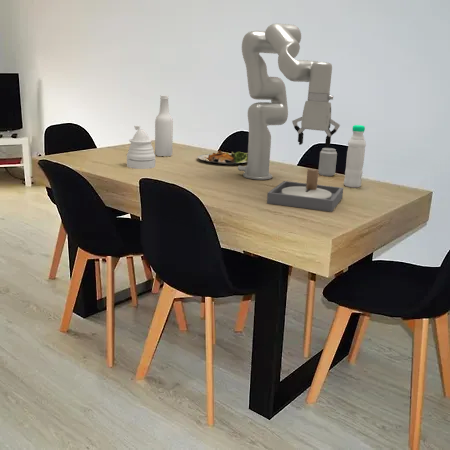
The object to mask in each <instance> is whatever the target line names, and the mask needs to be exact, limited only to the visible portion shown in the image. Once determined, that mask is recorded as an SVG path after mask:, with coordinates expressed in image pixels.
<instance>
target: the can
mask: <svg viewBox="0 0 450 450" xmlns="http://www.w3.org/2000/svg"><path fill="white" fill-rule="evenodd" d="M336 150H337V149H335V148H332V147H327V148H326V147H323V148H322V149H321V151H319V162H318V175H320V176H322V175H323V177H333V176H334V175H336V165H337V156H338V153H337V151H336Z"/></svg>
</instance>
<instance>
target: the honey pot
mask: <svg viewBox="0 0 450 450" xmlns="http://www.w3.org/2000/svg"><path fill="white" fill-rule="evenodd" d="M134 130H136V132H135V134H134V135H133V137H132V138H130V139H129V140H128V141H129V143H130V145H129V147H128V151H127V154H126V166H127V168H130V169H137V170H139V169H140V170H142V169H143V170H145V169H147V170H148V169H152V168H156V155H155V149H154V147H153V144H152V141H153V140H152V139H150V137H149V135H148V133H147V132H146V131H145V130H144V129H141V125H134Z"/></svg>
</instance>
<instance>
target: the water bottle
mask: <svg viewBox="0 0 450 450" xmlns="http://www.w3.org/2000/svg"><path fill="white" fill-rule="evenodd" d="M365 129H366V126H365V125H360V124H354V125H353V126H352V135H351V136H350V138H349V140H348V142H347V146H348V147H347V151H346V161H345V162H346V163H345V171H344V179H343V185H344V186H345V187H348V188H353V189H354V188H356V189H357V188H361V186H362V177H363V167H364V161H365V154H366V153H365V151H366V146H367V143H366V139H365V136H364V132H365Z"/></svg>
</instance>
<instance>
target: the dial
mask: <svg viewBox="0 0 450 450" xmlns="http://www.w3.org/2000/svg"><path fill="white" fill-rule="evenodd" d="M318 171H319V169H315V168H307V173H306V182H305V183H306V187H305V186H293V187H286V188H283V189H282V194H288V195H296V196H304V197H312V198H320V199H328V200H330V199H331V195H332V193H331V192H329V191H327V190H324V189H320V188H317V185H318V178H319V173H318Z"/></svg>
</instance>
